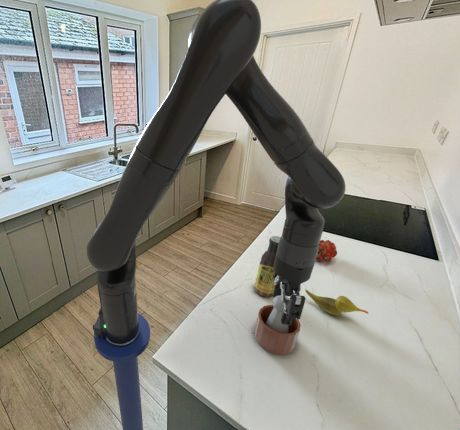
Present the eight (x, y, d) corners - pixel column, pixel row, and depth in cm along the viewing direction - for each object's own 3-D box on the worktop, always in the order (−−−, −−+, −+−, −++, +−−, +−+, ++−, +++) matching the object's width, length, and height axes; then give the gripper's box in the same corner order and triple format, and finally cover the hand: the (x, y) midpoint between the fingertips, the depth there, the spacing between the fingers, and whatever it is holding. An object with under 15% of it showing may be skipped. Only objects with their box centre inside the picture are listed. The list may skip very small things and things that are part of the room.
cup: (257, 351, 66) (262, 332, 63) (251, 321, 74) (255, 302, 71) (299, 357, 64) (306, 338, 61) (288, 325, 72) (293, 307, 69)
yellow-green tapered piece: (361, 331, 70) (369, 313, 67) (300, 303, 79) (305, 287, 76) (363, 321, 73) (371, 303, 70) (304, 295, 82) (309, 279, 79)
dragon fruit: (308, 267, 97) (321, 259, 104) (334, 264, 90) (346, 256, 97) (300, 245, 98) (313, 238, 105) (324, 241, 91) (337, 234, 98)
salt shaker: (283, 350, 65) (294, 313, 59) (259, 339, 68) (267, 302, 63) (288, 334, 69) (299, 297, 64) (265, 324, 72) (274, 288, 67)
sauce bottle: (254, 295, 83) (264, 242, 74) (253, 283, 88) (262, 232, 79) (276, 300, 81) (289, 246, 72) (274, 286, 86) (286, 235, 77)
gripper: (270, 237, 64) (259, 288, 72) (285, 274, 52) (271, 331, 59) (303, 240, 63) (289, 291, 70) (327, 278, 50) (307, 336, 58)
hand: (281, 309), depth 65 cm, fingers open, 8 cm apart
